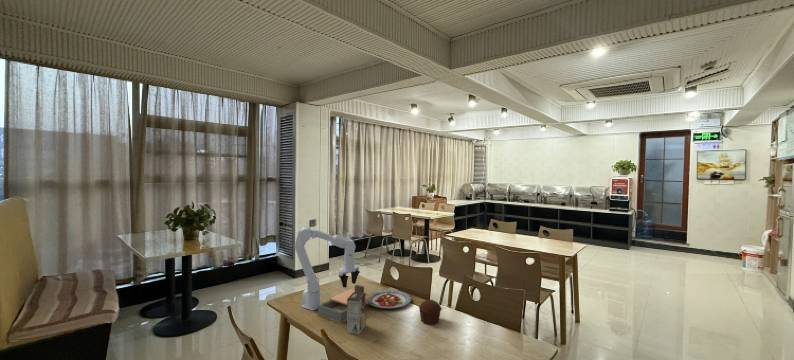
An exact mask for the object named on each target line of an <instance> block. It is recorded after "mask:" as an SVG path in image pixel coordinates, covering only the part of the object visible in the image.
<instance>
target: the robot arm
mask: <svg viewBox="0 0 794 360" xmlns="http://www.w3.org/2000/svg"><path fill="white" fill-rule="evenodd" d="M316 238H318V239H320V240H321V239H322V240H325V241H327V242H331V245H332V246H336V247H338V248H340V249H344V261H343V262H344V266H343V267H344V268H343V269H342V270H341V271H338V277H339V279H340V282H341V285H342V287H343V289H345V288H347V287H348V279H349V275H347V274H349V273H350V275H351V277H350V278H351V284H354V285H355V284H356V282H357V278H358V276H359V274H360V273H361V272H360V266H358V265H355V263H356V261H355V260H356V259H355V257H356V253H355V250H356V247H357V246H356V244H355V241H354V240H353V239H351V238H348V237H344V236H341V234H335V235H331V234H330V233H327V232H324V231H322V230H320V229H316V228H314V227H309V226H307V225H306V226H302V227H301V228H300V229H299V230H298V232H297V235H296V239H295V243H294V249H295V252H296V255H297V257H298V260H299V262H300V265H301V268H302V271H303V273H304V276H305V279H306V280H305V281H306V283H307V288H306V289H304V290H303V292H302V305H301V307H302V308H304V309H308V310H310V311H315V310H318V306H319V305H321V304H322V303H321V288H320V279H319V277H318V276H317V275H316V273H315V272H314V269H313V267H312V264H311V261H310V258H309V255H308V253H307V251H306V248H305V245H306V244H307V242H308V241H309V240H310V239H312V240H313V239H316Z"/></svg>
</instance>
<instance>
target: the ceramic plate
mask: <svg viewBox="0 0 794 360" xmlns="http://www.w3.org/2000/svg"><path fill="white" fill-rule="evenodd" d="M369 294H370V295H373V297H372V298H370V299H368V300H366V304H368V305H370V306H373V307H375V308H380V309H397V308H402V307H404V306H407V305H408V304H409V303H410V302H411V301H412V297H411V296H410V294H408V293H406V292H405V291H401V290H395V289H385V290H384V289H383V290H382V289H381V290H377V291H374V292H371V293H369Z"/></svg>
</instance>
